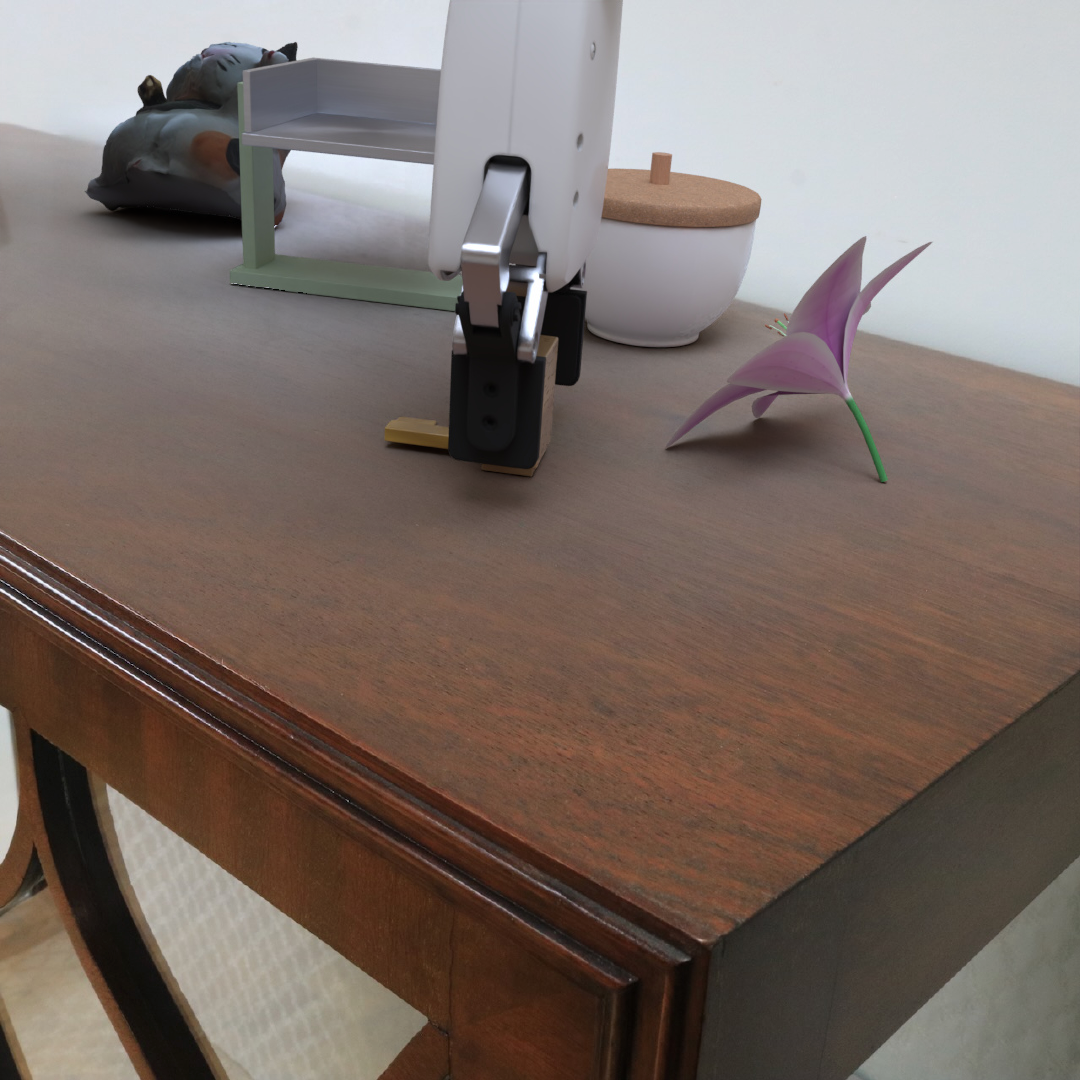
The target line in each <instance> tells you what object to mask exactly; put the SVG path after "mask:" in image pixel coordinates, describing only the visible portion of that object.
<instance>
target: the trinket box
mask: <svg viewBox="0 0 1080 1080" xmlns="http://www.w3.org/2000/svg"><path fill="white" fill-rule="evenodd" d="M650 161H651V163H650V169H642V168H641V169H640V168H608V173H607V181H606V188H605V196H604V203H603V210H602V217H601V223H600V229H599V233H598V237H597V241H596V244H595V246H594V248H593V250H592V251H591V253H590V254H589V256H588V257H587V259H586V274H585V281H584V286H583V288H572V287H570V289H573V290H582V291H587V298H586V310H585V321H586V322H587V325H586V327H587V329H588V331H590V333H591V334H593V335H595V336H597V337H599V338H602V339H604V340H606V341H607V340H608V341H611V342H614V343H620V344H624V345H629V346H636V347H646V348H647V347H648V348H671V347H672V348H673V347H680V346H685V345H689V344H692V343H695V342H696V341H697V340H698V339H699V335H700V333H701V332H702V331H704V330H705V329H707V328H708V327H710V326H712V325H713V324H714V323H715V322H716V321H717V320H718V319H719V318H720V317H721V316H722V315H723V314H724V313H725V312H726V311H727V310H728V308H729V307H730V305H731V304H732V303H733V301H734V299H735V297H736V296H737V295H738V293H739V291H740V288H741V286H742V284H743V282H744V279H745V276H746V273H747V270H748V266H749V261H750V258H751V254H752V249H753V243H754V238H755V232H756V225H757V220H758V219H759V218H760V213H761V208H762V197H761V195H760V194H759V193H758V192H757V191H755V190H753V189H751V188H749V187H748V186H745V185H741V184H737V183H735V182H732V181H727V180H724V179H719V178H714V177H708V176H704V175H699V174H698V175H697V174H690V173H683V172H676V171H671V169H672V161H673V154H672V153H669V152H662V151H654V152H652V153H651V160H650Z"/></svg>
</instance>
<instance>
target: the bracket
mask: <svg viewBox="0 0 1080 1080" xmlns="http://www.w3.org/2000/svg"><path fill="white" fill-rule="evenodd" d="M237 88H238V118H239V149H240V180H241V210H242V220H241V234H242V235H241V236H242V240H241V241H242V263H241V264H240V265H237V266H236V267H234V268H232V269H230V270H229V284H230V283H233V284H234V283H237V284H242V285H247V286H246V287H248V285H250V286H256V287H269V288H274V289H279V290H278V291H281V290H285V291H284V292H290V293H298V292H303V293H302V294H306V293H307V295H315V296H325V297H332V298H342V299H349V300H358V301H365V302H375V303H383V304H391V305H398V306H399V305H401V306H408V307H416V308H425V309H432V310H440V311H441V310H442V311H449V312H455V305H456V303H458V300H457V296H460V295H461V290H462V285H463V281H462V275H461V274H460V275H459V274H458V275H457V276H455V277H454V278H453V279H452V280H450V281H442V280H439V279H438V278H437V277H436V276H435V275H434V274H433V273H432V271H424V270H416V269H407V268H399V267H389V266H382V265H373V264H363V263H355V262H346V261H338V260H329V259H322V258H321V259H320V258H314V257H313V258H312V257H302V256H296V255H295V256H293V255H286V254H277V253H276V243H275V242H276V240H275V239H276V238H275V235H276V233H275V229H274V187H273V148H267V147H257V146H247V145H242V133H245V128H244V96H243V82H239V83H237ZM256 287H255V288H256Z"/></svg>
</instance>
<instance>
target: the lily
mask: <svg viewBox="0 0 1080 1080" xmlns="http://www.w3.org/2000/svg"><path fill="white" fill-rule="evenodd" d="M866 242H867V235H865V236H862V237H861V238H859V239H858V240H857V241H855V242H854V243H853V244H852V245H850V247H848V248H847V249H846V250H845V251H844V252H843V253H841V254H840V255H839V257H837V258H836V259H835V260H834V261H833V262H832V263H831V264H830V265H829V267H827V269H825V270H824V272H822V273H821V275H820V276H819V277H818V278H817V279H816V280H815V281H814V283H812V285H811V286H810V287H809V288H808V289H807V291H806V292H805V293H804V295H803V296H802V297H801V299H800V300H799V302H798V304H797V305H796V307H794V310H793V311H792V314H791V316H790V319H789V317H788V316H787V314H786V313H785V312H784V313H783V316H784V319H785V320H786V322H787V323H788V324H787V326H786V325H785V324H784V323H782V322H781V321H780V319H779V318H775V319H774V320H773V321H774V323H775V324H777V325H779V326H780V327H781V328H782V329H784V330H785V333H784V331H782V330H780V329H778V328H777V327H775V326H773V325H768V324H764V327H766V328H767V329H769V330H773V329H774V330H776V331H777V334H778V335H779V336H781V337H782V338H780V339H778V340H776V341H775V342H773V343H772V344H770V345H768V346H767V347H764V348H763V349H762V350H760V351H759V352H757V353H756V354H755V355H753V356H752V357H751V358H750V359H748V360H747V361H745V362H743V364H742V365H741V366H739V368H737V369H736V370H735V371H734V372H733V373H732V374H731V375H729V377H728V378H727V379H726V383H729V384H727V385H725V386H723V387H721V388H720V389H719V390H717V391H716V392H714V393H713V394H712V395H711V396H709V397H708V398H707V399H706V400H704V401H703V402H702V404H700V405H699V406H698V408H697V409H696V410H695V411H694V412H693V413H691V415H690V416H689V417H688V418H687V419H686V420H685V421H684V422H683V424H682V425H681V426H680V427H679V428H678V429H677V430H676V432H675V433H674V434H673V435H672V436H671V438H670V439H669V441H668V442H667V443H666V445H665V449H668V448H669V447H671V446H672V445H673V444H674V443H676V442H677V441H678V440H680V439H681V438H682V437H684V436H685V435H686V434H687V433H689V432H690V431H691V430H693V429H694V428H695V427H697V426H698V425H699V424H701V423H702V422H703V421H704V420H706V419H708V418H709V417H710V416H711V415H713V414H714V413H715V412H717V411H719V410H721V409H723V408H724V407H726V406H728V405H729V404H731V403H733V402H735V401H739V400H740V399H743V398H746V397H748V396H750V395H754V394H757V393H760V392H764V391H767V390H768V391H775V392H772V393H770V394H766V395H763V396H760V397H757V398H756V399H754V400H753V401H752V405H751V412H752V415H753V416H754V418H755V419H760V418H761V417H762V416H763V415H764V414H765V413H766V411H767V410H768V409H769V407H770V406H771V405H772V404H773V402H774V401H775V400H776V399H777V397H778V396H788V395H823V394H824V395H825V394H827V395H835V396H838V397H840V398H841V399H842V400H844V403H845V404H846V405H847V407H848V409H849V410H850V412H851V413H852V415H853V417H854V419H855V421H856V423H857V425H858V427H859V429H860V431H861V433H862V436H863V439H864V441H865V444H866V447H867V449H868V451H869V455H870V456H871V459H872V461H873V465H874V467H875V470H876V473H877V475H878V478H879V481H880V483H884V482H887V481H888V480H889V478H888V476H887V473H886V470H885V467H884V465H883V462H882V458H881V456H880V453H879V451H878V449H877V446H876V443H875V440H874V439H873V438H874V437H873V436H872V432H871V430H870V428H869V426H868V424H867V422H866V420H865V418H864V416H863V414H862V412H861V410H860V408H859V406H858V405H857V403H856V401H855V399H854V397H853V395H852V394H851V392H850V389H849V385H848V372H849V364H850V359H851V353H852V349H853V345H854V340H855V337H856V333H857V330H858V327H859V325H860V322H861V320H862V317H863V316H864V315H866V314H867V313H868V312H869V311H870V309H871V307H872V301H873V300H874V298H875V297H876V296H877V295H878V294H879V293H880V292H881V291H882V290H883V289H884V288H885V287H886V285H888V283H889V282H890V281H891V280H892V279H894V278H895V277H896V276H897V275H898V274H899V273H900V272H901V271H902V270H904V268H905V267H907V266H908V265H909V264H910V263H911V262H912V261H913V260H915V259H916V258H917V257H918V256H919V255H920V254H921V253H923V252H924V251H925V250H926V249H928V247H929V246H930V245H931V244H933V241H929V242H926V243H925V244H923V245H920V246H918V247H916V248H914V249H913V250H911V251H910V252H908V253H906V254H905V255H904V256H901V257H900V258H899V259H897V260H896V261H894V262H893V263H892V264H890V265H889V266H888V267H886V268H884V269H883V270H882V271H881V272H879V273H878V274H877V275H876V276H874V277H873V278H872V279H871V280H870V281H869V282H867V284H866V285H865V286H864V287H863V288H862V281H863V257H864V251H865V246H866ZM861 288H862V289H861Z"/></svg>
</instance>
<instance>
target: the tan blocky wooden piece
mask: <svg viewBox="0 0 1080 1080" xmlns="http://www.w3.org/2000/svg"><path fill="white" fill-rule="evenodd" d="M557 351H558V338H557V337H553V336H545V335H540V341H539V346H538V352H537V356H542V357H546V367H545V382H544V396H543V410H542V424H541V438H540V452H539V458H538V460H537V462H536V464H535V466H534V467H532V468H530V469H520V468H512V467H504V466H496V465H489V464H481V470H482V471H487V472H495V473H502V474H509V475H518V476H523V477H524V476H525V477H532V476H533V474H534V473H535V470H536V469H537V468H538V466H539V464H540V462H541V460H542V459H543V456H544V454H545V452H546V450H547V448H548V446H549V444H550V442H551V440H552V439H551V438H552V425H553V415H554V414H553V413H554V401H555V399H554V398H555V389H556V388H555V387H556V385H555V377H556V364H557ZM383 434H384V442H391V443H400V444H406V445H414V446H421V447H427V448H429V447H430V448H438V449H444V450H448V437H449V426H444V425H438V421H437V420H434V419H433V420H431V419H425V418H416V417H410V416H409V417H408V416H399V417H398V418H397V419H391V420H390V421H389V422H388V423H387V424H386V425H385V426H384V433H383Z"/></svg>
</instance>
